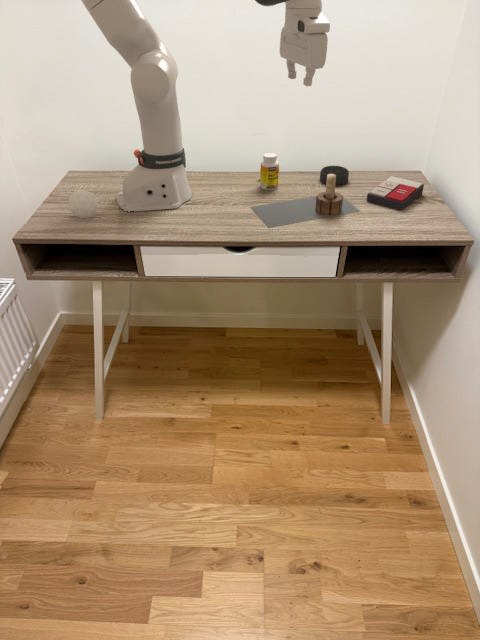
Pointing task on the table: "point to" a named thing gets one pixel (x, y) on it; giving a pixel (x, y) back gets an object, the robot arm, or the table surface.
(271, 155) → the supplement bottle
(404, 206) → the calculator
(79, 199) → the geometric ball
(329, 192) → the dowel
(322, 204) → the bead
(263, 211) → the felt mat
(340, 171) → the smart speaker
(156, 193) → the robot arm
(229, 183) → the table surface
